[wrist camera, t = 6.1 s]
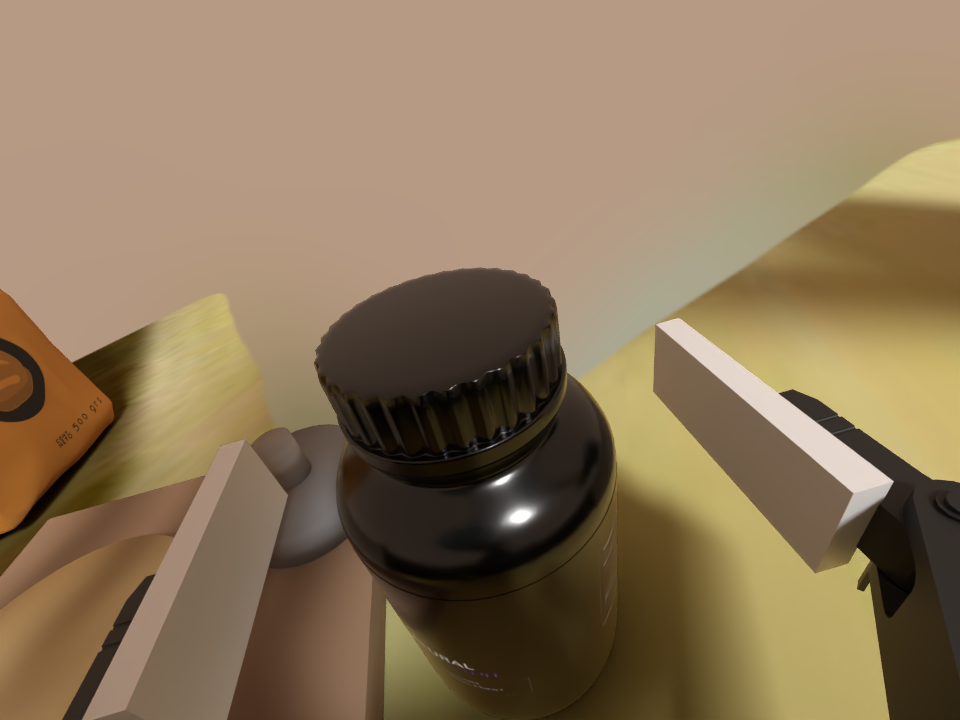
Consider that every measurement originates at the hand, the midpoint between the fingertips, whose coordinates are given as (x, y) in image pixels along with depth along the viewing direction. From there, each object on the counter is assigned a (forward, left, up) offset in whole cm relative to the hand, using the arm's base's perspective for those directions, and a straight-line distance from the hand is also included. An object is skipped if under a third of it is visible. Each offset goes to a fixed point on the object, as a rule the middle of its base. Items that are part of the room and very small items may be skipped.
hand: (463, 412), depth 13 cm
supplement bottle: (0, +3, -7) cm, 8 cm away
